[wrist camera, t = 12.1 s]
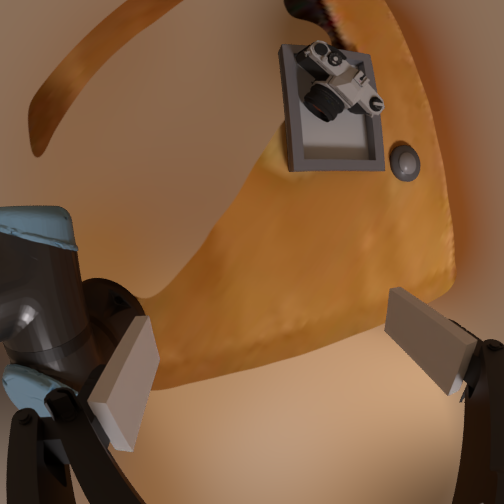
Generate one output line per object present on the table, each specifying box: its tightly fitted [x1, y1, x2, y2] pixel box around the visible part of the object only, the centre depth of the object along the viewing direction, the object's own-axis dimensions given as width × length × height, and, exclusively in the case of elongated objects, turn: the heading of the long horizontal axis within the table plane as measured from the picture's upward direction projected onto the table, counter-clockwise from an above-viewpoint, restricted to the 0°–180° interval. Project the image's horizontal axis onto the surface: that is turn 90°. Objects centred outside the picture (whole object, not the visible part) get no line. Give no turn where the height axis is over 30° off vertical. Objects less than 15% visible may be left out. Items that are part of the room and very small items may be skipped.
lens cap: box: [390, 145, 420, 182], centre depth 39 cm, size 6×6×2 cm
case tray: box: [278, 44, 385, 172], centre depth 35 cm, size 14×19×3 cm
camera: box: [295, 40, 385, 122], centre depth 31 cm, size 13×8×9 cm, turn 57°
